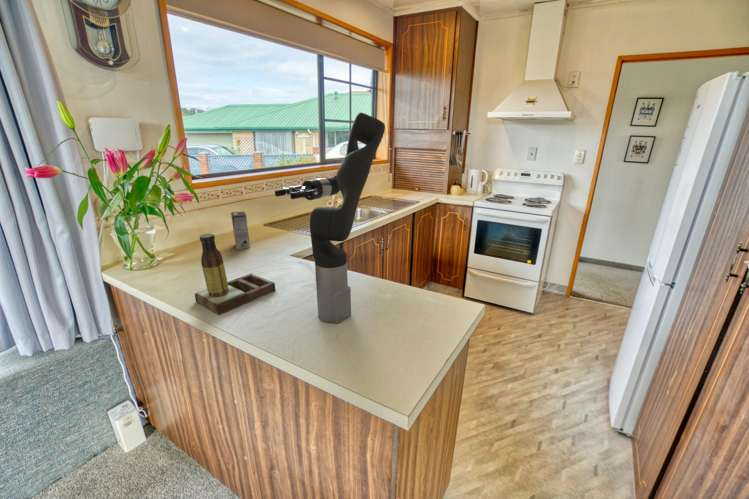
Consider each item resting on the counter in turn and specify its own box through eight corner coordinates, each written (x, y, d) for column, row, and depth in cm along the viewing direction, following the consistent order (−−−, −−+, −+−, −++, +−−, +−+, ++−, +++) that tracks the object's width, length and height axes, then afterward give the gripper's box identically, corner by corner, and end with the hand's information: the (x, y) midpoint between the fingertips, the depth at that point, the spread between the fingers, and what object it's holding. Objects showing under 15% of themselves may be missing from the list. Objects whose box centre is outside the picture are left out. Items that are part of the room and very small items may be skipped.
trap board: (275, 290, 120) (274, 282, 119) (218, 314, 104) (217, 305, 103) (251, 280, 128) (250, 272, 127) (196, 301, 112) (194, 292, 111)
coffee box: (235, 243, 170) (230, 212, 165) (249, 242, 173) (245, 211, 167) (236, 249, 162) (231, 216, 157) (250, 247, 165) (246, 215, 159)
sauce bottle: (222, 287, 115) (212, 230, 108) (233, 292, 111) (223, 233, 105) (203, 294, 110) (192, 235, 103) (213, 300, 106) (203, 239, 100)
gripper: (303, 177, 134) (269, 182, 122) (329, 180, 126) (295, 185, 114) (305, 196, 137) (271, 203, 125) (330, 200, 129) (297, 207, 117)
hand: (283, 194), depth 119 cm, fingers open, 8 cm apart
